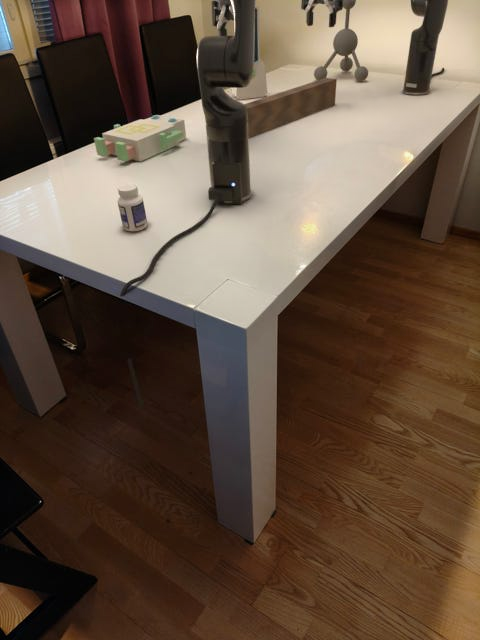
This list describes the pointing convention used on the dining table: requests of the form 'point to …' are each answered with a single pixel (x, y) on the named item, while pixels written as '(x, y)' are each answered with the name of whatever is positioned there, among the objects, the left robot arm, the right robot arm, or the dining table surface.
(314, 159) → the dining table surface
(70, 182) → the dining table surface
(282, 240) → the dining table surface
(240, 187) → the left robot arm
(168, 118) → the decorative block
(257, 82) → the electronic device
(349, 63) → the molecular model
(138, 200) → the pill bottle
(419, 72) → the right robot arm
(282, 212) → the dining table surface
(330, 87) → the beam
